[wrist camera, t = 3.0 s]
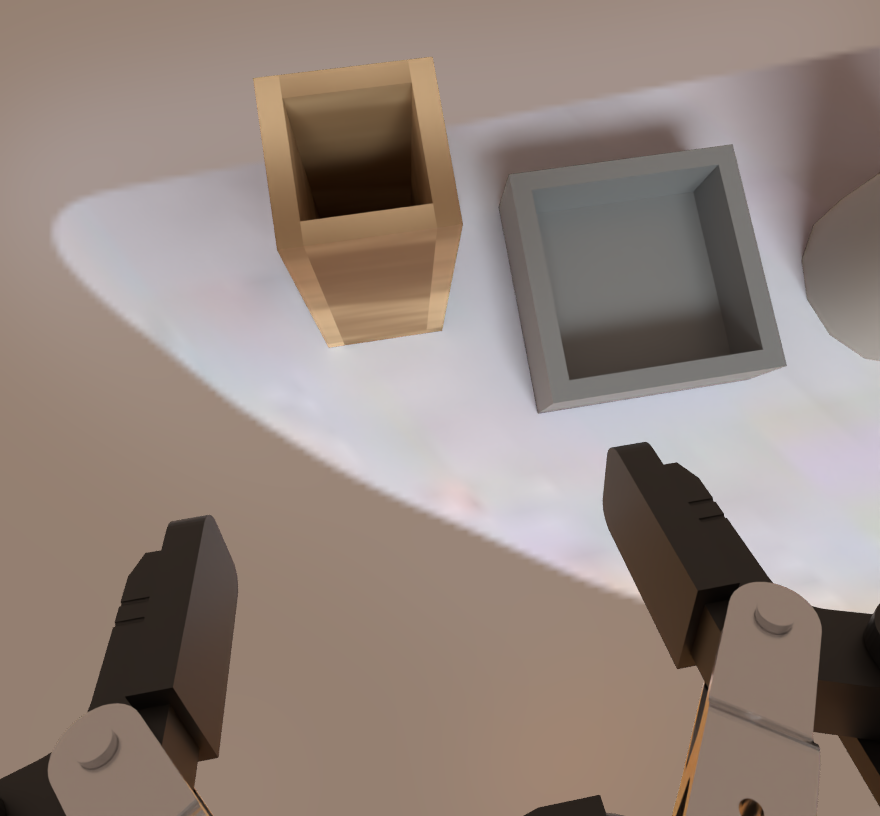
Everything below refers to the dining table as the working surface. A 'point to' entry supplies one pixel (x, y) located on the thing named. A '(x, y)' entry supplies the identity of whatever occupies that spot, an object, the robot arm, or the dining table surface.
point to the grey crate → (637, 278)
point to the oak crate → (363, 196)
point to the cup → (848, 270)
